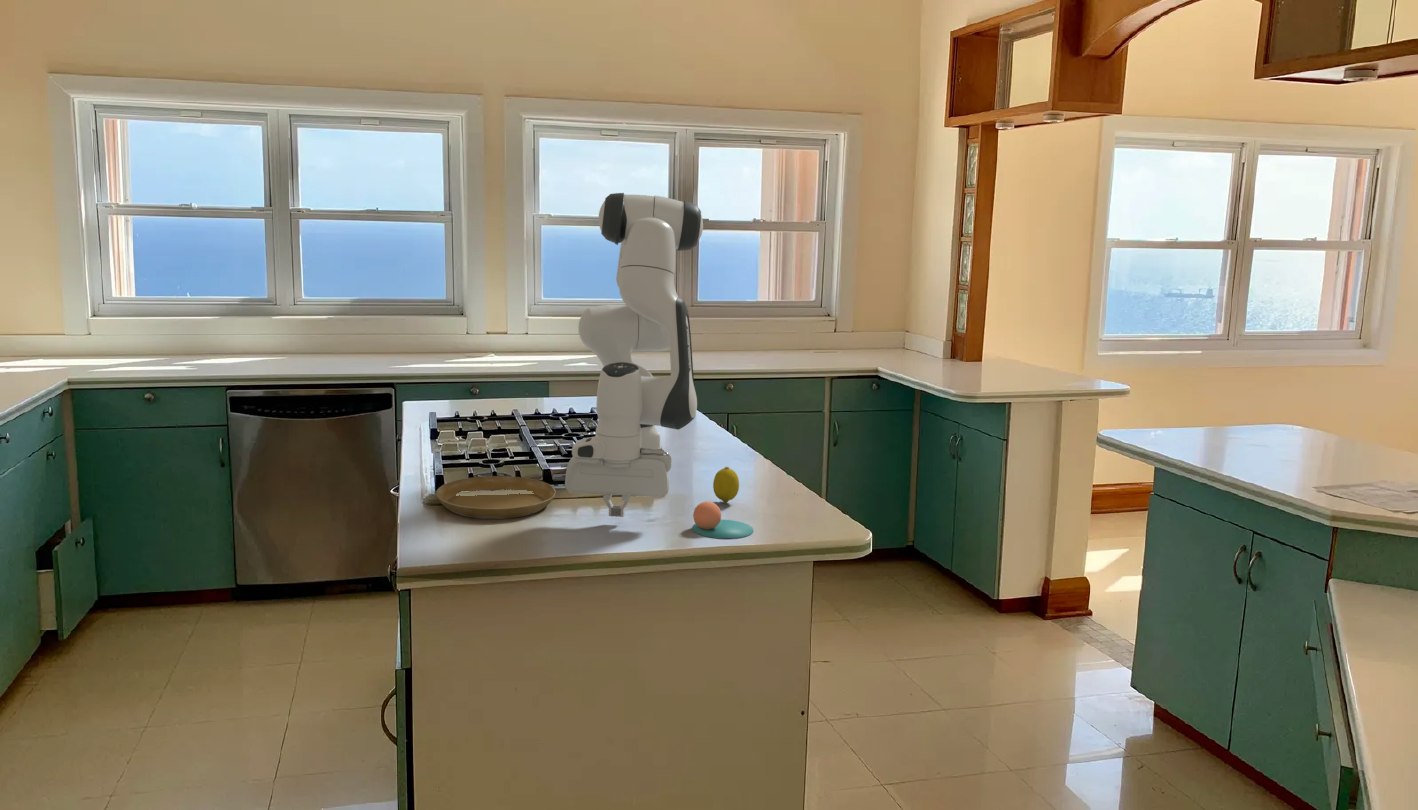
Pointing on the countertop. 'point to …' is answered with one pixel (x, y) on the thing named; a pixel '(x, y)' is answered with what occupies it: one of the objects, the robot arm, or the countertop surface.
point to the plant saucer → (496, 497)
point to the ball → (707, 515)
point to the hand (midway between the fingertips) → (616, 515)
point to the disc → (726, 530)
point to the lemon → (726, 484)
